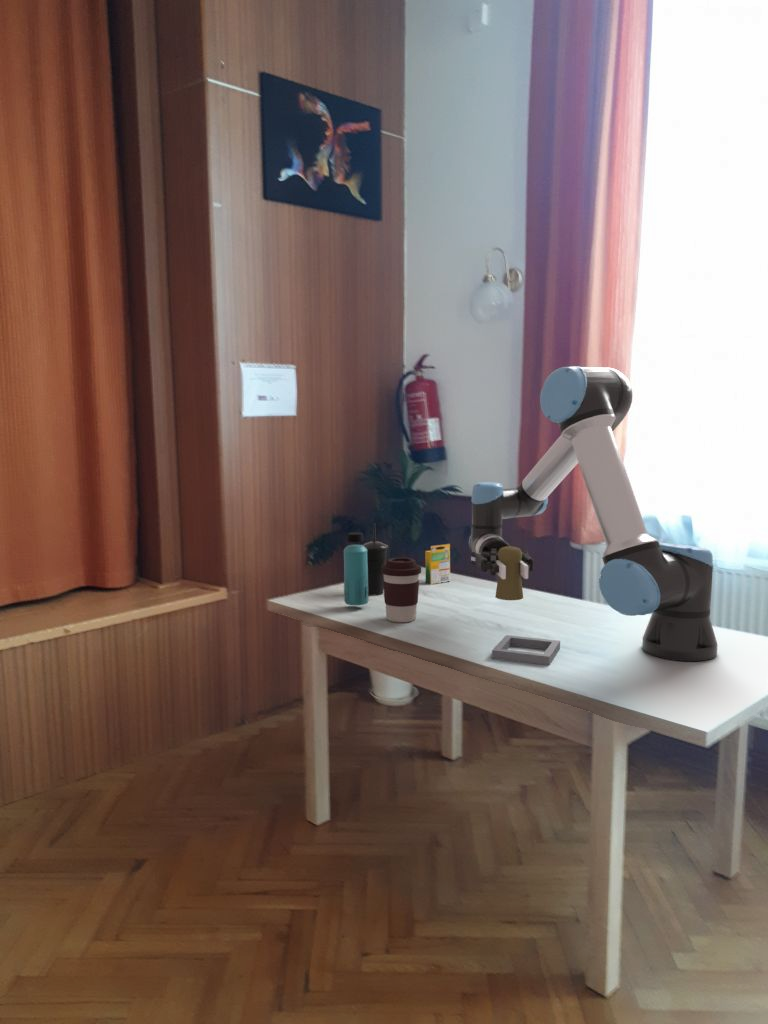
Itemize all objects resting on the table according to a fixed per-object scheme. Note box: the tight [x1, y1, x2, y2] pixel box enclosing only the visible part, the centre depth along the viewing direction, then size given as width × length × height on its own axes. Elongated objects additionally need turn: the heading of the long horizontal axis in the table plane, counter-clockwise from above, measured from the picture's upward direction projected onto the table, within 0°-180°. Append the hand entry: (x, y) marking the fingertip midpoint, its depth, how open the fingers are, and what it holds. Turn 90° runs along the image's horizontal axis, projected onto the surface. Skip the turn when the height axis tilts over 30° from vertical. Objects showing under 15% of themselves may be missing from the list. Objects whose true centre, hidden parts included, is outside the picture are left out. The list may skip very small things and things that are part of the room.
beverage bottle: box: [343, 532, 370, 606], centre depth 209 cm, size 6×7×20 cm
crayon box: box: [424, 543, 451, 585], centre depth 239 cm, size 7×3×12 cm, turn 122°
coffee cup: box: [381, 557, 422, 623], centre depth 198 cm, size 10×10×15 cm
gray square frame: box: [491, 634, 561, 666], centre depth 171 cm, size 12×12×2 cm
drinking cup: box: [362, 522, 389, 596], centre depth 225 cm, size 8×8×20 cm
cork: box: [495, 545, 524, 601], centre depth 173 cm, size 6×6×11 cm
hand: (515, 572), depth 167 cm, fingers closed on cork, 4 cm apart
